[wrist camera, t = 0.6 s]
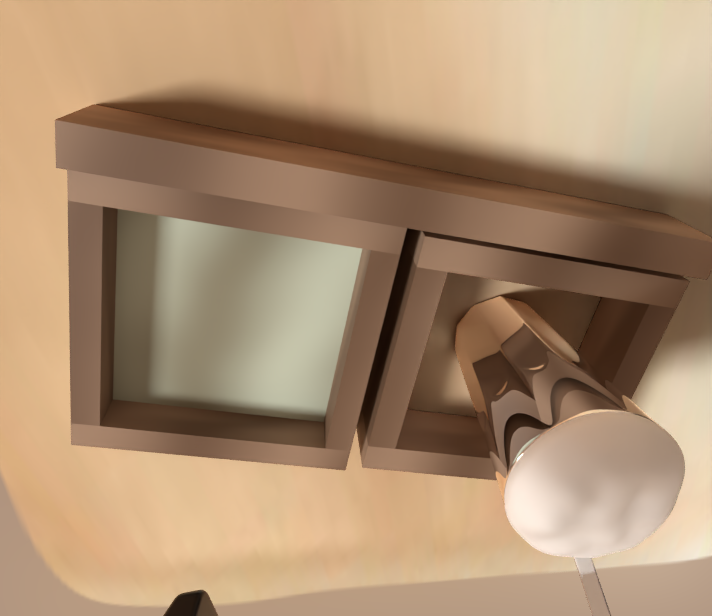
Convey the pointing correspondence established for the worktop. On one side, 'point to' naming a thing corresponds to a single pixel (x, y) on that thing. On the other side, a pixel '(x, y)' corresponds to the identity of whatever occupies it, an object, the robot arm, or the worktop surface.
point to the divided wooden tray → (317, 291)
